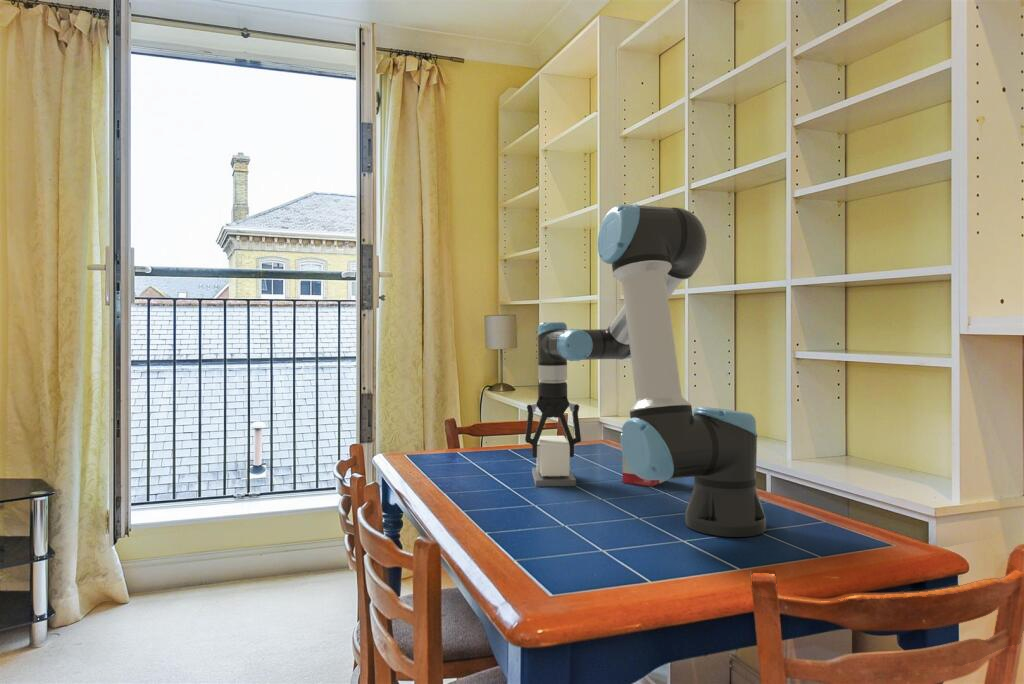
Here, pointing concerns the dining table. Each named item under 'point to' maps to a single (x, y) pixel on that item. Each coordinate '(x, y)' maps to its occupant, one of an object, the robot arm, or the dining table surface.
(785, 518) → the dining table surface
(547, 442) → the block
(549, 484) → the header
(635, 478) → the ink box
